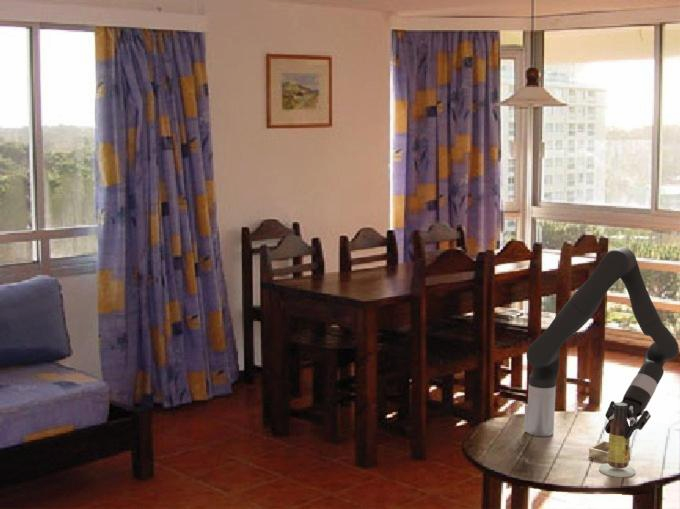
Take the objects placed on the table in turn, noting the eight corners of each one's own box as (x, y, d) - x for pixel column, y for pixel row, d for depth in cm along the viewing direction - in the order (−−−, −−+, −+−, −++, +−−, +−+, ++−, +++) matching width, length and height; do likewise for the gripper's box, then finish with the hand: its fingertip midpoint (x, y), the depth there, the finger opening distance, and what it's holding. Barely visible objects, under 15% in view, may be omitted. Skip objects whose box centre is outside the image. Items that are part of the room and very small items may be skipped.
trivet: (593, 471, 330) (593, 469, 330) (608, 462, 339) (608, 460, 339) (625, 480, 323) (626, 478, 323) (641, 470, 332) (641, 468, 332)
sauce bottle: (628, 470, 327) (632, 408, 324) (608, 468, 328) (611, 406, 325) (627, 462, 333) (630, 402, 330) (607, 461, 335) (610, 400, 331)
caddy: (588, 457, 343) (589, 448, 343) (603, 449, 351) (603, 440, 351) (615, 463, 337) (616, 454, 337) (629, 455, 345) (630, 446, 345)
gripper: (616, 379, 337) (592, 422, 331) (655, 389, 326) (631, 434, 321) (625, 392, 341) (601, 435, 336) (664, 403, 330) (640, 447, 325)
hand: (616, 434), depth 328 cm, fingers closed on sauce bottle, 6 cm apart
